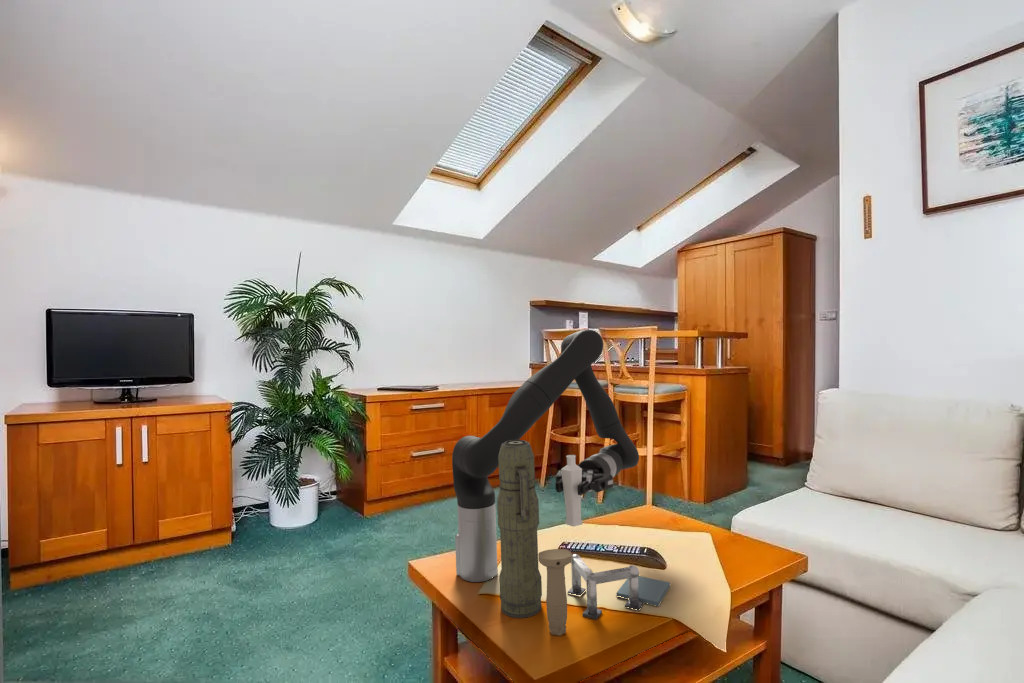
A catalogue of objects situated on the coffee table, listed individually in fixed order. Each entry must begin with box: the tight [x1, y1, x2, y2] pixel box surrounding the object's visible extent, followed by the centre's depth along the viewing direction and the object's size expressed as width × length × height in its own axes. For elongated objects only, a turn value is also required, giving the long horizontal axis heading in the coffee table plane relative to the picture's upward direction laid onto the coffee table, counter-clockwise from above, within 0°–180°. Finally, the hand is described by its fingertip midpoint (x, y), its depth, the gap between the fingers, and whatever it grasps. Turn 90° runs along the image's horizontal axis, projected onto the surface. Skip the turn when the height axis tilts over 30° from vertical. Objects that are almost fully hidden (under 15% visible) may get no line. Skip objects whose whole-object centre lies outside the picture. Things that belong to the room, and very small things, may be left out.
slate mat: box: [616, 575, 671, 607], centre depth 115 cm, size 9×10×1 cm
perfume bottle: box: [560, 454, 584, 527], centre depth 115 cm, size 5×4×15 cm
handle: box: [538, 548, 573, 637], centre depth 100 cm, size 5×6×15 cm
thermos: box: [496, 439, 543, 619], centre depth 110 cm, size 9×12×35 cm
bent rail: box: [567, 553, 644, 621], centre depth 109 cm, size 16×10×8 cm, turn 59°
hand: (568, 489), depth 113 cm, fingers closed on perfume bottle, 4 cm apart
